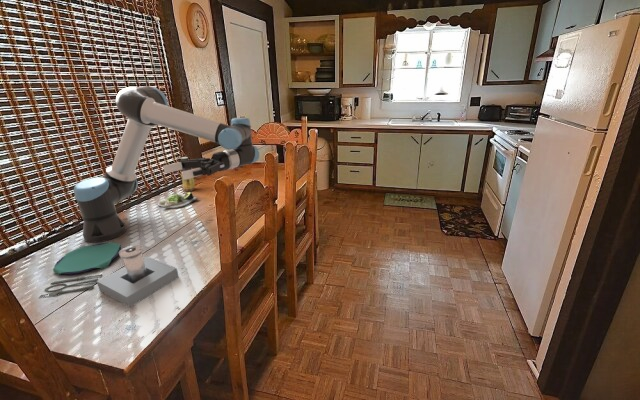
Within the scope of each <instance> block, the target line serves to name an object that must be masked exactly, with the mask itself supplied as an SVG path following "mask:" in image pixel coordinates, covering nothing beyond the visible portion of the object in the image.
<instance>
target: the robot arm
mask: <svg viewBox="0 0 640 400" xmlns="http://www.w3.org/2000/svg"><path fill="white" fill-rule="evenodd" d="M115 104H116V108H117V110H118V111H119V113H120V114H121V115H123V116H124V117H125V118H127V122H126V124H125V128H124V130H123V134H122V136H121V139H120V142H119V144H118V148H117V150H116V153H115V157H114V159H113V162H112V165H110V166H108V167H106V169H105V171H104V176H103V177H98V176H97V177H92V178H91V177H90V178H89V179H85V180H82V181H79V182H78V183H77V184H75V186H74V187H73V192H74V198H75V200H76V203H77V205H78V208H79V212H80V215H81V217H82V220H83V227H82V237H83V240H84V241H85V242H87V243H103V242H106V241H110V240H112V239H113V240H114V239H116V238H118V237H120V236H121V235H123V234H125V233H126V232H127V227H126V224H125V222H124V221H123V219H122V218H121V217H120V215H118V213H117V209H116V204H117V203H119V202H121V201H122V200H125V199H126V198H129V197H131V196H132V195H133V194H135V192H136V191H137V189H138V184H139V182H138V180H137V174H136V168H137V166H138V163H139V162H140V158H141V155H142V153H143V150H144V149H145V145H146V143H147V140H148V137H149V134H150V132H151V130H152V128H153V127H156V126H157V125H158V126H161V127H165V128H168V129H171V130H174V131H177V132H181V133H184V134H187V135H190V136H193V137H197V138H200V139H203V140H206V141H209V142H212V143H216V144H219V145H220V146H221V147H222V148H223V149H225V150H223V151H222V150H221V151H217V152H214V153H213V154H212V155H211V158H210V157H207V158H206V157H200V158H192V159H189V160H182V161H181V159H180V160H178V162H174V163H169V164H166V165H165V164H164V165H162V166H163V171H164V174H169V173H172V172H173V173H174V172H177V171H181V170H183V168H192V169H191V170H187V171H183V172H182V175H183V179H184V180H186V179H189V178H193V179H194V178H196V177H200V176H206V175H207V176H212V175H214V174H215V173H217V172H224V171H228V170H230V169H231V170H234V168H238V167H242V166H247V165H251V164H254V163H256V162H258V161H259V159H260V151H259V148H258V147H257V146H255V145H254V144H253V139H252V125H251V121H250V119H249V117H241V116H240V117H233V118H232V119H231V121H230V125H228V124H225V123H222V122H219V121H216V120H214V119H213V120H212V119H210V118H206V117H204V116H200V115H197V114H193V113H191V112H188V111H185V110H181V109H177V108H175V107H172V106H170V105H169V102H168V99H167V97H166V95H165V93H164V92H162V90H160V89H158V88H157V87H155V86H154V87H153V86H148V85H146V86H145V85H144V86H128V87H124V88H123V89H121V90H119V92H118V93H117V95H116V97H115Z"/></svg>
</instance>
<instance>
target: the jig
mask: <svg viewBox="0 0 640 400" xmlns="http://www.w3.org/2000/svg"><path fill="white" fill-rule="evenodd" d="M143 260H144V263H145V267H146V271H147V274H148V276H146V277H144V278H143V279H141V280H139V281H137V282H136V283H134V284H133V283H131V282H130V280H129V277H128V273H127V270H126V267H125V266H124V267H122V268H120V269H118V270H116V271H114V272H112V273H110V274H107V275H105V276H104V277H102V278H100V279H98V281H97V282H96V284H97V287H98V290H99V291H100V292H101V293H104V294H105V295H108V297H110V298H112V299H115V301H118V302H120V303H121V304H123V305H125V306H127V307H129V308H132V307H133V306H135V305H136V304H138V303H140V302H141V301H142V300H145V299H146V298H147V297H149V296H150V295H151V296H152V295H153V294H154V293H155V292H157V291H159V290H160V289H162V288H164V287H165V286H167V285H169V284H170V283H172V282H173V281H175V280H176V279H178V278H179V273H178V269H177V267H175V266H172V265H169V264H167V263H164V262H162V261H160V260H158V259H155V258H152V257H150V256H147V255H145V256H143Z"/></svg>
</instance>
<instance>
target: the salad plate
mask: <svg viewBox="0 0 640 400" xmlns="http://www.w3.org/2000/svg"><path fill="white" fill-rule="evenodd" d="M198 199H199V197H196V196H195V195H193V193H192V191H187V192H186V193H185V194H180V193H179V194H173V195H171V196H168V197H167V198H164V199H161V200H160V201H158V202H157V205H158V206H159V207H161V208H162V209H178V208H182V207H185V206H187V205H190V204H192V203H194V202H195V201H197V200H198ZM166 204H168V205H166Z"/></svg>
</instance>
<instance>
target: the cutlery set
mask: <svg viewBox="0 0 640 400" xmlns="http://www.w3.org/2000/svg"><path fill="white" fill-rule="evenodd" d="M121 246H122V244H119V243H118V242H113V241H112V242H98V243H95V244H91V245H83V246H81V247H79V248H76V249H74V250H73V249H72V250H71V251H69V252H66V254H65V255H63V257H61V258H60V259H59V260H57V261H56V263H55V265H54V266H53V268H52V271H53V272H54V273H55V274H57V275H59V276H60V275H62V274H63V275H72V274H73V275H75V274H81V273H85V272H89V271H92V270H95V269H98V268H99V269H106V268H108V267H109V266H110V263H111V262H112V261H113V260H114V259H116V258H117V257H118V256H120V255H119V251H120V250H122V247H121ZM93 277H94V278H95V277H97V278H95V279H89V278H93ZM98 277H102V278H103V273H101V274H95V275H89V276H80V277H79V276H77V278H68V279H67V278H66V279H63V280H55V281H53V282H51V283H50V286H48V287H46V288H45V289H44V291H46V292H49V291H50V289H53V288H55V287H60V286H61V288H58V289H54V290H52V292H49V293H45V294H40V296H39V297H38V299H43V298H44V297H45V295H48V294H49V296H53V297H56V296H55V295H57V296H59V295H62V294H69V293H75V292H76V293H77V292H82V291H85V290H93V289H94V288H95V286H94V284H91V285H87V286H83V287H79V288H75V289H67V290H62V289H65V288H68V287H69V288H70V287H72V286H77V285H84V284H88V283H97V281H98V280H99V279H98ZM85 279H89V280H85ZM82 280H83V281H82ZM84 280H85V281H84ZM74 281H75V283H70V284H66V282H67V283H68V282H74ZM76 281H77V282H76ZM78 281H80V282H78ZM62 286H63V287H62ZM58 294H59V295H58ZM43 296H44V297H43ZM42 297H43V298H42Z"/></svg>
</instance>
